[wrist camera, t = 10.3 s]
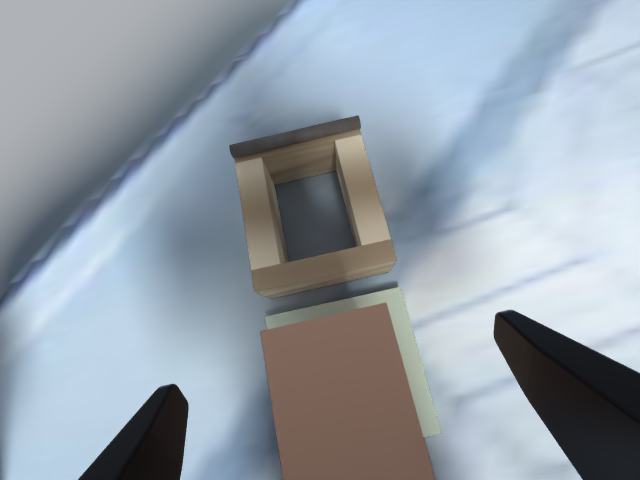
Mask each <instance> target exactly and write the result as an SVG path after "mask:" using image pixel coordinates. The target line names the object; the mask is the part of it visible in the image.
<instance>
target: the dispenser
mask: <svg viewBox="0 0 640 480" xmlns="http://www.w3.org/2000/svg"><path fill="white" fill-rule="evenodd" d="M360 128H361V125H360V119H359V116H354V117H350V118H345V119H341V120H337V121H332V122H328V123H324V124H319V125H315V126H311V127H306V128H302V129H298V130H293V131H289V132H285V133H280V134H276V135H272V136H267V137H263V138H259V139H254V140H250V141H246V142H241V143H237V144H233V145H230V146H229V147H230V152H231V155H232V157H233V158H234V159H235V165H236V172H237V179H238V186H239V192H240V199H241V206H242V212H243V219H244V226H245V233H246V239H247V246H248V253H249V260H250V266H251V273H252V280H253V287H254V292H256V293H258V294H261V295H263V296H265V297H268V298H270V299H271V298H276V297H280V296H285V295H289V294H294V293H298V292H303V291H307V290H312V289H316V288H321V287H325V286H330V285H334V284H339V283H343V282H348V281H352V280H357V279H361V278H366V277H370V276H375V275H379V274H384V273H388V272H389V271H390V269H391V268H392V267H393V265H394V264H395V262H396V261H397V257H396V254H395V250H394V247H393V243H392V240H391V237H390V233H389V230H388V226H387V223H386V219H385V216H384V212H383V209H382V205H381V202H380V198H379V195H378V191H377V188H376V184H375V181H374V177H373V174H372V170H371V167H370V163H369V160H368V157H367V153H366V150H365V146H364V143H363V139H362V136H361V132H360ZM334 171H337V175H338V179H339V183H340V187H341V191H342V195H343V199H344V203H345V207H346V210H347V214H348V218H349V222H350V226H351V230H352V234H353V238H354V242H355V246H356V247H353V248H349V249H344V250H340V251H335V252H331V253H326V254H322V255H317V256H313V257H309V258H304V259H300V260H295V261H291V262H289V259H288V253H287V248H286V243H285V237H284V232H283V226H282V221H281V216H280V210H279V205H278V199H277V194H276V189H275V185H277V184H282V183H286V182H290V181H295V180H299V179H303V178H308V177H312V176H317V175H321V174H325V173H330V172H334Z"/></svg>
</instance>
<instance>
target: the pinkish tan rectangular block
mask: <svg viewBox="0 0 640 480" xmlns="http://www.w3.org/2000/svg"><path fill="white" fill-rule="evenodd" d="M260 334H261V341H262V347H263V353H264V360H265V366H266V372H267V379H268V385H269V392H270V398H271V404H272V411H273V417H274V424H275V430H276V436H277V443H278V449H279V456H280V462H281V468H282V475H283V480H435V477H434V473H433V470H432V466H431V462H430V459H429V455H428V451H427V448H426V444H425V440H424V437H423V433H422V430H421V426H420V422H419V419H418V415H417V411H416V408H415V404H414V401H413V397H412V393H411V390H410V386H409V382H408V379H407V375H406V371H405V368H404V364H403V361H402V357H401V353H400V350H399V346H398V342H397V339H396V335H395V332H394V328H393V324H392V321H391V317H390V313H389V310H388V306H387V302H386V303H381V304H377V305H373V306H368V307H364V308H359V309H355V310H351V311H346V312H342V313H338V314H333V315H329V316H324V317H320V318H316V319H311V320H307V321H303V322H298V323H294V324H290V325H285V326H281V327H276V328H272V329H268V330H263V331H260Z"/></svg>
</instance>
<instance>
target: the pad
mask: <svg viewBox="0 0 640 480" xmlns="http://www.w3.org/2000/svg"><path fill="white" fill-rule="evenodd" d="M386 302H387V306H388V310H389V313H390V317H391V321H392V324H393V328H394V332H395V335H396V339H397V342H398V346H399V350H400V353H401V357H402V361H403V364H404V368H405V371H406V375H407V379H408V382H409V386H410V390H411V393H412V397H413V401H414V404H415V408H416V411H417V415H418V419H419V422H420V426H421V430H422V433H423V437H429V436H434V435H438V434H442V432H441V429H440V425H439V421H438V418H437V414H436V411H435V407H434V404H433V400H432V397H431V393H430V390H429V386H428V383H427V379H426V376H425V372H424V369H423V365H422V361H421V358H420V354H419V351H418V347H417V344H416V340H415V337H414V333H413V330H412V326H411V323H410V319H409V316H408V312H407V309H406V305H405V301H404V298H403V294H402V291H401V287H397V288H392V289H388V290H383V291H379V292H374V293H370V294H365V295H361V296H356V297H351V298H347V299H342V300H338V301H333V302H329V303H324V304H320V305H315V306H311V307H306V308H302V309H297V310H293V311H288V312H283V313H279V314H274V315H270V316H265V321H266V327H267V330H268V329H272V328H276V327H281V326H285V325H290V324H294V323H298V322H303V321H307V320H311V319H316V318H320V317H324V316H329V315H333V314H338V313H342V312H346V311H351V310H355V309H359V308H364V307H368V306H373V305H377V304H381V303H386Z"/></svg>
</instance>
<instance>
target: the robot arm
mask: <svg viewBox="0 0 640 480" xmlns="http://www.w3.org/2000/svg"><path fill="white" fill-rule="evenodd" d="M494 339H495V342H496V344H497V345H498V347H499V349H500V351H501V353H502V354H503V356H504V358H505V360H506V362H507V364H508V365H509V367H510V369H511V371H512V373H513V375H514V376H515V378H516V380H517V382H518V384H519V385H520V387H521V389H522V391H523V392H524V394H525V396H526V397H527V399H528V400H529V402H530V403H531V405H532V406H533V408H534V409H535V411H536V412H537V414H538V415H539V417H540V418H541V420H542V421H543V422H544V424H545V425H546V427H547V428H548V430H549V431H550V433H551V434H552V436H553V437H554V438H555V440H556V441H557V443H558V444H559V446H560V447H561V449H562V450H563V452H564V453H565V455H566V456H567V457H568V459H569V460H570V462H571V463H572V465H573V466H574V468H575V469H576V471H577V472H578V473H579V475H580V476H581V478H582V479H583V480H640V373H639V372H637V371H635V370H633V369H631V368H629V367H627V366H625V365H623V364H621V363H619V362H617V361H615V360H613V359H611V358H609V357H607V356H605V355H603V354H601V353H599V352H597V351H595V350H592V349H590V348H588V347H586V346H584V345H582V344H580V343H578V342H576V341H574V340H572V339H570V338H568V337H566V336H564V335H562V334H560V333H558V332H556V331H554V330H552V329H550V328H548V327H546V326H544V325H542V324H540V323H538V322H536V321H534V320H532V319H530V318H528V317H526V316H524V315H522V314H520V313H518V312H516V311H514V310H506V311H502V312H498V313H497V314H496V315H495V323H494ZM188 409H189V408H188V402H187V400H186V398H185V397H184V395H183V394H182V392H181V391H180V389H179V388H178V386H177V385H175V384H169V385H164V386H161V387H159V388H158V389H157V390H156V391H155V392H154V393H153V394H152V395H151V397H150V398H149V399H148V400H147V401H146V402H145V403H144V405H143V406H142V407H141V408H140V409H139V410H138V412H137V413H136V414H135V415H134V416H133V417H132V418H131V420H130V421H129V422H128V423H127V424H126V425H125V426H124V428H123V429H122V430H121V431H120V432H119V433H118V434H117V436H116V437H115V438H114V439H113V440H112V441H111V442H110V444H109V445H108V446H107V447H106V448H105V449H104V450H103V452H102V453H101V454H100V455H99V456H98V457H97V458H96V460H95V461H94V462H93V463H92V464H91V465H90V467H89V468H88V469H87V470H86V471H85V472H84V473H83V475H82V476H81V477H80V478H79V479H78V480H180V476H181V470H182V464H183V456H184V446H185V437H186V428H187V419H188Z"/></svg>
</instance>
